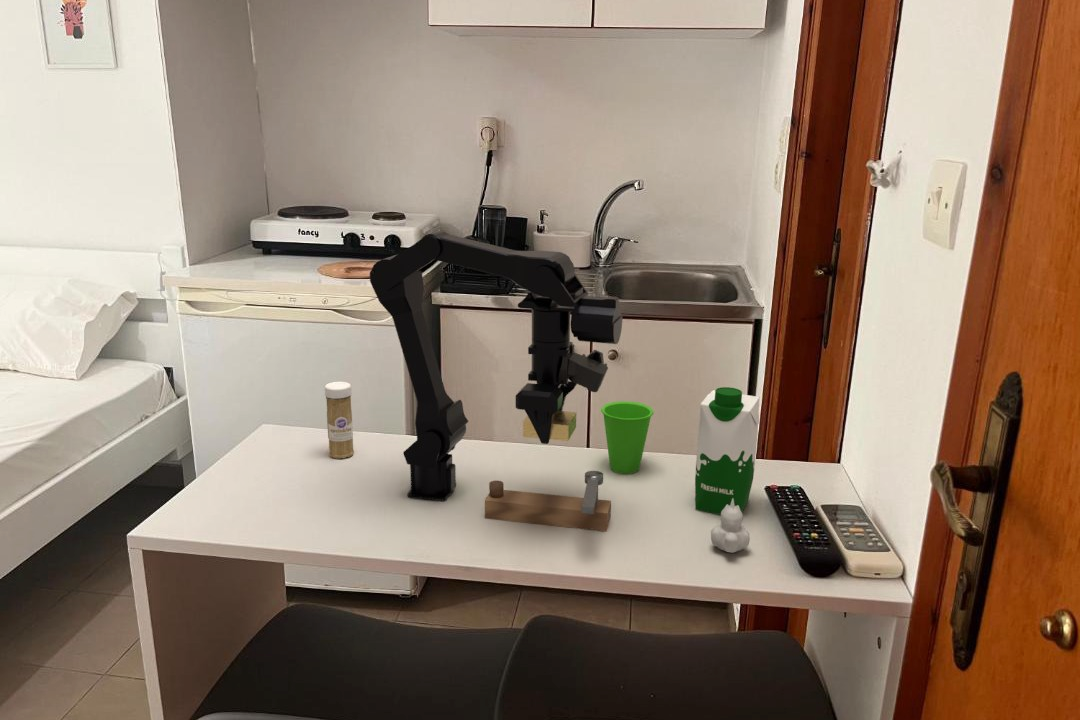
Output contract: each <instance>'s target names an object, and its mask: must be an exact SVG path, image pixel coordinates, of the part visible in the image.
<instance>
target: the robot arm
mask: <svg viewBox="0 0 1080 720" xmlns="http://www.w3.org/2000/svg"><path fill="white" fill-rule="evenodd" d="M439 262H442V263H446V264H450V265H454V266H457V267H462V268H465V269H471V270H474V271H477V272H482V273H486V274H490V275H494V276H496V277H497V276H498V277H502V278H505V279H508V280H509V281H512V282H513V283H514V284H515V285H517V286H518V287H519V288H521V289H523V290H525V291H527V294H526V295H525V297H524V298H523V299H522V300H521V301H520V302H518V303H517V307H518V309H527V310H531V343H530V345H529V346H528V347H527V349H528V350H527V351H528V352H527V354H528V355H531V370H530V371H529V372H528V375H527V380H528V381H530V382H531V383H530V382H529V383H528V382H527V383H525V385H524V386H523V387H521V388H520V390H519V391H518V392H517V393H516V395H515V409H516V410H521V411H523V410H524V412H525V413H526V416H527V415H528V417H529V419H530V421H531V423H532V425H533V427H534V429H535V431H536V433H537V435H538V437H539V438H538V440H539V441H540V444H543V445H548V444H549V443H550V440H551V439H550V435H551V430H552V424H553V419H554V414H555V413H556V412H557V411H564V407H565V406H564V405H565V403H566V398H567V396H568V395H569V394H570V393H571V392H572V391H573V390H574V389H575V387H577V385H579V386H581V387H583V388H586V390H587V391H589V392H592V393H598V392H599V390H600V388H601V386H602V384H603V381H604V379H605V376H606V374H607V371H608V369H609V367H608V363H605V362H604V353H603V352H601V351H599V350H596V349H593V351H591V352H590V353H589V354H588V355H586V354H584V353H583V354H579V353H577V352H575V344H573V343H574V342H573V341H571V334H572V335H573V337H574V338H577V341H579V342H586V343H596V344H597V343H598V344H608V345H609V344H610V345H618V343H619V341H620V339H621V334H622V329H623V328H622V327H623V326H622V325H623V315H622V312H621V311H622V310H621V307H620V304H619V302H620V301H619V300H620V298H619V297H618V296H611V295H610V296H605V297H604V296H593V295H592V296H591V295H589V292H588V291H587V289H586V287H585V286H584V285H583V283H582V282H581V281H580V279H579V278H578V277H577V274H576V273H575V272H576V270H575V266H574V263H573V261H572V259H571V258H570V256H568V255H567V254H566V253H563V252H561V251H553V250H552V251H551V250H516V249H515V250H514V249H511V248H510V249H509V248H507V247H502V246H498V245H494V244H489V243H486V242H481V241H477V240H473V239H470V238H467V237H461V236H458V235H454V234H450V233H447V231H443V230H437V231H434V232H430V233H428V234H425V235H424V236H422V237H421V239H419V240H418V241H417V242H415V243H414V244H412V245H411V246H409V247H407V248H405V249H404V250H402V251H401V252H400V253H398V254H395V255H391V256H389V257H386V258H383V259H381V260H378V261H376V262H375V263H374V264H373V266H372V268H371V270H370V272H369V275H368V276H369V282H370V284H371V287H372V289H373V291H374V294H375V296H376V297H377V300H378V302H379V304H380V305H381V306H382V307H384V309H385V310H386V311H387V313H388V314H389V315H390V316H391V319H392V321H393V323H394V327H395V331H396V335H397V337H398V341H399V343H400V348H401V352H402V355H403V358H404V362H405V365H406V368H407V372H408V375H409V378H410V383H411V385H412V388H413V389H412V390H413V392H414V396H415V399H416V410H415V411H416V413H415V419H414V420H415V421H414V423H415V425H414V426H415V433H416V440H415V441H414V442H413V443H412V444H411V445H409V447H408V448H407V447H406V449H405V450H404V451H403V453H402V454H403V457H404V458H405V463H406V464H407V465H409V468H410V469H409V470H410V471H409V473H410V489H409V490H408V492H407V497H408V498H415V499H424V500H434V501H446V500H447V498H448V497H449V496H450V494H451V493H452V492H453V491H454V490H455V488H456V486H457V482H456V480H457V478H456V477H457V476H456V475H457V474H456V472H457V471H456V464H455V463H453V454H452V453H451V454H450V452H452V451H454V450H455V448H456V445H457V444H458V443H459V442H460V441H462V440H463V438H464V437H465V434H467V433H466V432H467V424H468V423H469V420H468V419H467V417H466V415H465V412H464V406H463V401H462V400H461V399H458V400H455V401H454V400H453V399H452V398H451V397H450V396H449V395H448V394H447V392H446V390H445V386H444V382H443V379H442V375H441V372H440V367H439V364H438V362H437V360H438V359H437V357H436V354H435V350H434V346H433V344H432V340H431V336H430V333H429V332H430V331H429V329H428V326H427V321H426V320H425V315H424V313H423V301H424V300H423V298H424V289H425V285H424V279H423V274H424V273H426V272H427V271H428V270H429V269H431V268H432V267H433V266H434V265H436V264H437V263H439ZM532 381H533V382H536V383H532Z"/></svg>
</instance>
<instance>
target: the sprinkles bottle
mask: <svg viewBox="0 0 1080 720" xmlns="http://www.w3.org/2000/svg"><path fill="white" fill-rule="evenodd" d="M351 385H352V384H351V383H349V382H346V381H333V382H329V383H327V384H325V386H324V396H325V400H326V421H327V422H326V423H327V424H326V425H327V438H328V448H329V451H328V456H330V457H331V458H332V457H333V458H332V459H337V458H343V459H347V458H346V457H348V458H350V457H352V456H353V455H354V453H355V451H354V431H353V428H354V426H353V412H352V400H351V399H352V397H351V396H352V386H351Z"/></svg>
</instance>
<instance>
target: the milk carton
mask: <svg viewBox="0 0 1080 720" xmlns="http://www.w3.org/2000/svg"><path fill="white" fill-rule="evenodd" d="M699 406H700V407H699V420H698V421H699V422H698V433H697V444H696V445H697V446H696V447H697V449H696V462H695V473H694V475H695V476H694V477H695V478H694V488H695V489H694V493H695V494H694V495H695V496H694V497H695V500H694V503H695V510H697V511H701V512H707V513H712V514H716V515H720V516H721V512H722V510H723V509H724V508H725V506H726V505H727V504H728V505H729V506H730V504H731V501H732V499H733V500H734V505H735V506H737V505H738V506H739V508H740V510H741V512H742V513H743V511H744V509H745V507H746V505H747V504H748V502H749V498H750V493H751V489H752V486H753V480H754V475H755V465H756V454H757V442H758V433H759V431H758V430H759V424H760V414H759V413H760V412H759V410H760V409H759V408H760V396H756V395H755V396H754V395H749V394H743V392H742V390H740V389H739V388H735V387H730V386H727V387H725V386H723V387H718V388H716V389H714V390H711V392H710V393H708V394H706V396H705V398H704V399H703V400H702V401H701V402H700V405H699Z"/></svg>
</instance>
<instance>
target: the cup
mask: <svg viewBox="0 0 1080 720" xmlns="http://www.w3.org/2000/svg"><path fill="white" fill-rule="evenodd" d="M600 412H601V414H603V421H604V431H605V435H606V436H605V437H606V446H607V452H608V461H609V466H610V469H611V470H612V472H615V473H617V474H622V475H632V474H635V473H637V472H638V471H639V469H640V468H641V463H642V458H643V455H644V450H645V445H646V439H647V435H648V431H649V426H650V423H651V422H650V421H651V417H652V416H653V415H654V410H653V408H652V407H651V406H649V405H646V404H644V403H640V402H635V401H614V402H608V403H606V404H605V405H603V406H602V407H601V409H600Z"/></svg>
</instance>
